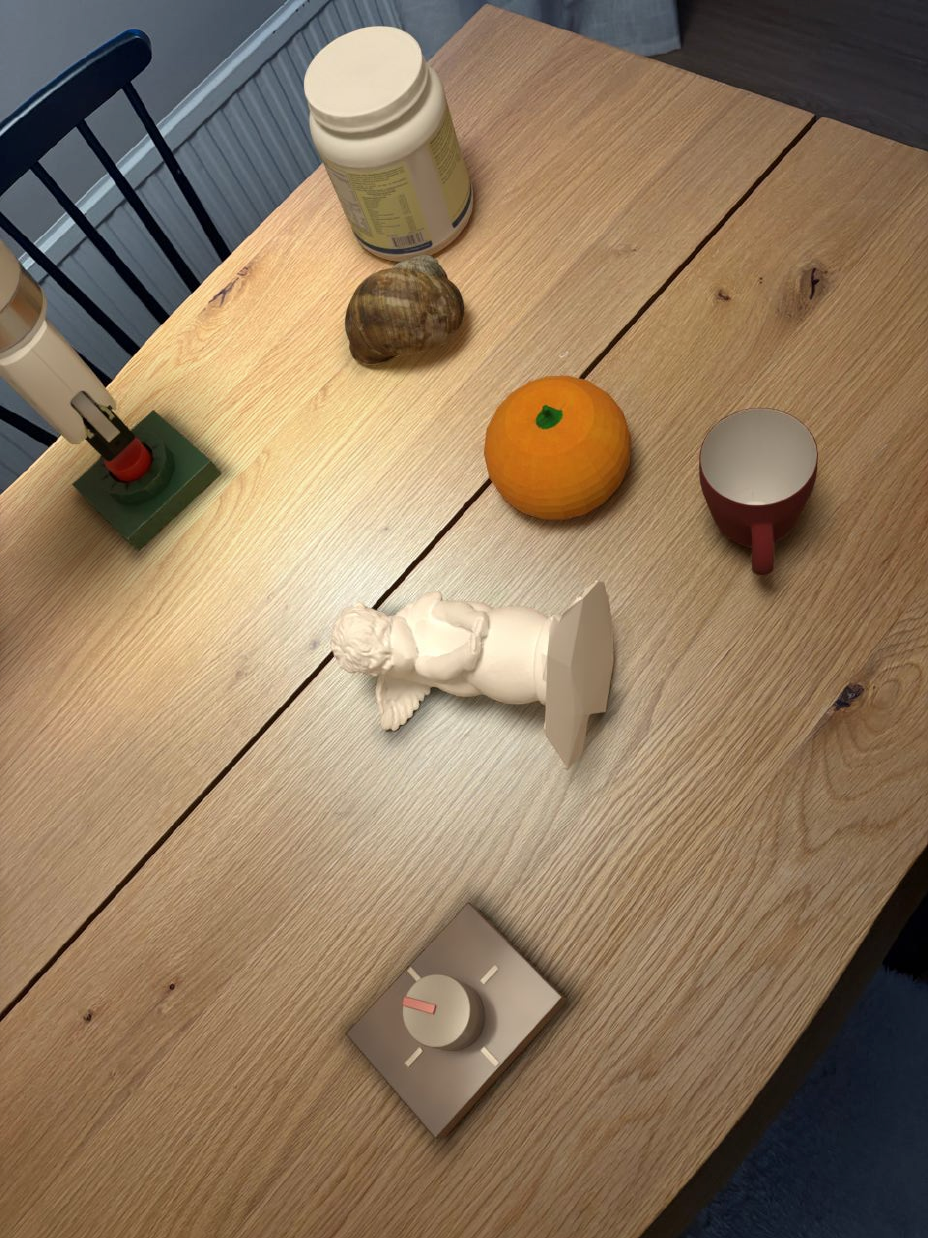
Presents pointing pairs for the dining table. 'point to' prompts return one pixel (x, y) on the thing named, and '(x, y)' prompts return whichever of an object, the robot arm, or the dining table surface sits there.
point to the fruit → (557, 447)
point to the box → (149, 483)
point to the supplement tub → (388, 143)
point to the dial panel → (511, 1022)
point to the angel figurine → (486, 658)
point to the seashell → (403, 311)
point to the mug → (758, 478)
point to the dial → (443, 1012)
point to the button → (130, 462)
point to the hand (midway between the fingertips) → (117, 445)
